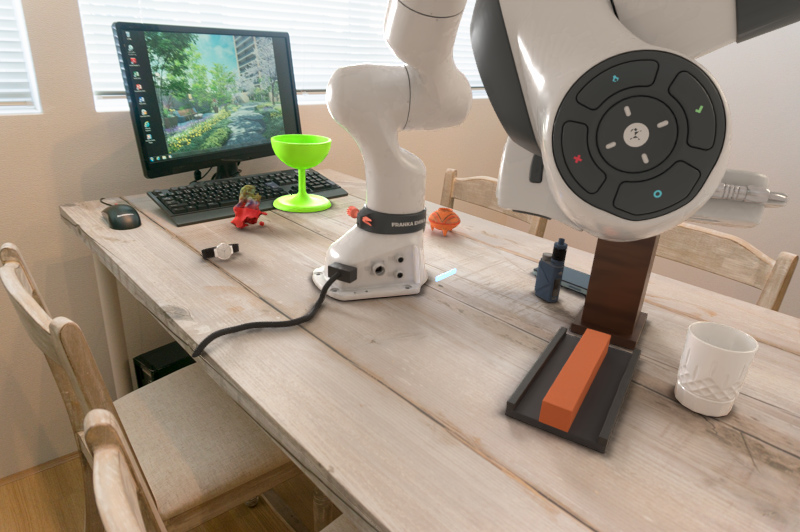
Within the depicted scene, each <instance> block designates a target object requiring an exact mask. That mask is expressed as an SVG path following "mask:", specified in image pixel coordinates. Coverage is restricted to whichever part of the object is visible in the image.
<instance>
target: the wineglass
mask: <svg viewBox="0 0 800 532" xmlns="http://www.w3.org/2000/svg"><path fill="white" fill-rule="evenodd" d="M270 143H271V148H272V150H273V152H274V154H275V156H276V157H277V158H278V159H279V161H281V162H282V163H283V164H285V165H286V166H287V167H290V168H293V169H295V170H297V171H298V191H297V193H294V194H293V193H291V194H292V195H291V194H286V195H282V196H280V197H277V198H276V199H275V200H274V201H273V204H272V205H273V207H274V208H275V209H277V210H280V211H283V212H289V213H316V212H322V211H326V210H327V209H329V208H331V207H332V203H331V201H330V200H329V199H328V198H326V197H324V196H323V195H322V196H321V195H317V194H311V193H307V184H306V182H307V180H306V178H307V177H306V175H307V174H306V170H310V169H313V168H315V167H317V166H319V165H320V164H321V163H322V162H323V161H324V160H325V159H326V158H327V157H328V156H329V152H330V151H331V147H332V139H331V138H330V137H327V136H323V135H316V134H301V133H300V134H299V133H297V134H295V133H292V134H280V135H279V134H278V135H274V136H272V137H270Z"/></svg>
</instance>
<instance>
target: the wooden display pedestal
mask: <svg viewBox="0 0 800 532" xmlns="http://www.w3.org/2000/svg"><path fill="white" fill-rule="evenodd" d="M661 235H662V234H659V235H656V236H653V237H649V238H645V239H640V240H636V241H629V242H614V241H608V240H603V239H600V238H597V241H596V245H595V251H594V255H593V260H592V265H591V269H590V274H589V275H590V279H589V284H588V289H587V293H586V295H585V297H584V304H583V306H582V308H581V309H580V311H579V312H578V313H577V315H576V317H574V319H573V320H572V322H571V325H570V330H569V331H570V332H572V333H575V334H579V335H581V336H583V334H584V333H585V331H586V330H587V328H588V329H592V330H595V331H598V332H602V333H605V334H609V335H611V338H610V343H609V344H612V345H615V346H619V347H622V348H626V349H629V350H634V348H636V347H637V345H638V342H639V340H640V338H641V335H642V332H643V330H644V327H645V325H646V323H647V319H648V315H649V313H647V312H644V311H642V309H643V307H644V306H643V305H644V302H645V298H646V294H647V290H648V286H649V282H650V278H651V274H652V270H653V266H654V262H655V259H656V254H657V250H658V246H659V242H660V239H661Z"/></svg>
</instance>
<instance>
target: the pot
mask: <svg viewBox="0 0 800 532" xmlns="http://www.w3.org/2000/svg"><path fill="white" fill-rule="evenodd" d="M427 220H428V222H429V225H430V229H431V231H434V230H435V229H436V230H438V231H441V232H442V234H443V237H447V234H448V232H449V231H450V232H452V231H453V230H454V229H455V228H457V227H458V226H459V225H460V224H461V218H460V216H459V215H458V214H457V213H456V212H454V210H453V208H449V207H439V208H438V209H437V210H435V211H433V212H431V213H430V214H429V216H428V218H427Z"/></svg>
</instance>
